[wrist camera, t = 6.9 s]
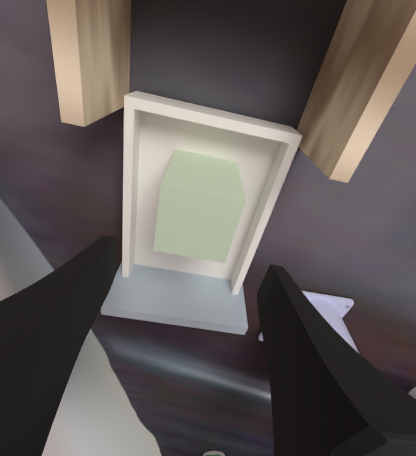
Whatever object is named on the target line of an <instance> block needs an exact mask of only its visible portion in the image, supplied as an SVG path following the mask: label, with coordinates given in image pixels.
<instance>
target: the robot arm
mask: <svg viewBox="0 0 416 456" xmlns="http://www.w3.org/2000/svg"><path fill="white" fill-rule="evenodd" d="M116 272H117V238H115V237H109V236H104V235H103V236H102V237H100V238H99V239H98V240H96V241H95V242H94V243H92V244H91V245H90V246H88V247H87V248H86V249H84V250H83V251H82V252H80V253H79V254H78V255H76V256H75V257H74V258H72V259H71V260H69V261H68V262H67V263H65V264H64V265H62V266H61V267H59V268H58V269H56V270H55V271H53V272H52V273H50V274H48V275H47V276H46V277H44V278H42V279H41V280H39V281H37V282H36V283H34V284H32V285H30V286H29V287H27V288H25V289H23V290H21V291H20V292H18V293H16V294H14V295H12V296H10V297H8V298H6V299H4V300H2V301H0V456H41V455H42V453H43V450H44V447H45V444H46V441H47V438H48V435H49V432H50V429H51V426H52V423H53V420H54V418H55V415H56V412H57V409H58V407H59V404H60V401H61V398H62V396H63V393H64V391H65V388H66V385H67V383H68V380H69V377H70V375H71V372H72V369H73V367H74V365H75V362H76V360H77V357H78V355H79V352H80V350H81V347H82V345H83V343H84V340H85V338H86V336H87V334H88V332H89V330H90V328H91V326H92V324H93V322H94V321H95V319H96V317H97V315H98V313H99V311H100V309H101V307H102V305H103V303H104V301H105V299H106V297H107V295H108V293H109V291H110V289H111V286H112V284H113V281H114V278H115V275H116ZM257 304H258V315H259V320H260V326H261V332H260V334H259V336H258V337H259V340H260V341H264V346H265V352H266V357H267V362H268V369H269V379H270V389H271V402H272V416H273V435H274V456H416V399H414V398H413V397H412V396H410V395H409V394H408V393H406V392H405V391H404V390H402V389H401V388H400V387H398V386H397V385H396V384H395V383H393V382H392V381H391V380H390V379H388V378H387V377H386V376H385V375H383V374H382V373H381V372H380V371H379V370H377V369H376V368H375V367H374V366H373V365H371V364H370V363H369V362H368V361H367V360H366V359H365V358H364V357H362V356H361V355H360V354H359V352H358V350H357V348H356V346H355V344H354V342H353V340H352V338H351V336H350V334H349V332H348V330H347V328H346V326H345V324H344V322H343V320H342V318H343V316H344V315H345V314H346V313H347V312H348V310H349V309H350V308H351V307H352V306H353V304H354V302H353V300H352V299H349V298H343V297H336V296H330V295H324V294H318V293H312V292H306V291H301V290H300V288H299V287H298V286H297V284H296V283H295V282H294V280H293V279H292V278H291V276H290V275H289V274H288V273H287V271H286V270H285V269H284V268H283V267H282V266H276V265H271V264H270V266H269V269H268V271H267V273H266V275H265V277H264V279H263V281H262V284H261V286H260V288H259V290H258V292H257Z"/></svg>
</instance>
